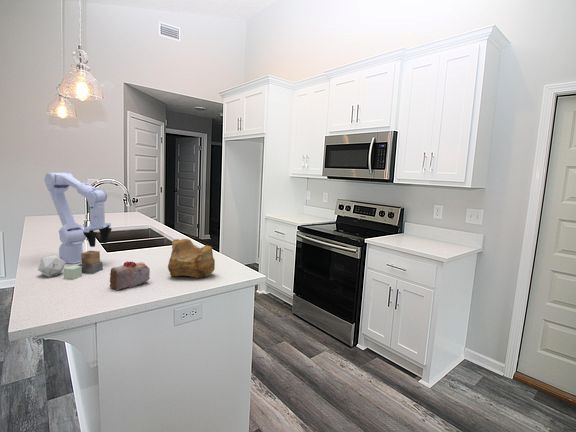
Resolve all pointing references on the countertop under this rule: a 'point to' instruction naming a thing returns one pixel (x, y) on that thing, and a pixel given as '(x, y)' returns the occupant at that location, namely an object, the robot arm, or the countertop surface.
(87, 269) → the charcoal base block
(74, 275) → the sage cube
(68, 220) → the robot arm
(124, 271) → the food item
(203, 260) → the rough brown rock
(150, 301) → the countertop surface
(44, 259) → the pale gray rock
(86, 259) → the walnut cube
